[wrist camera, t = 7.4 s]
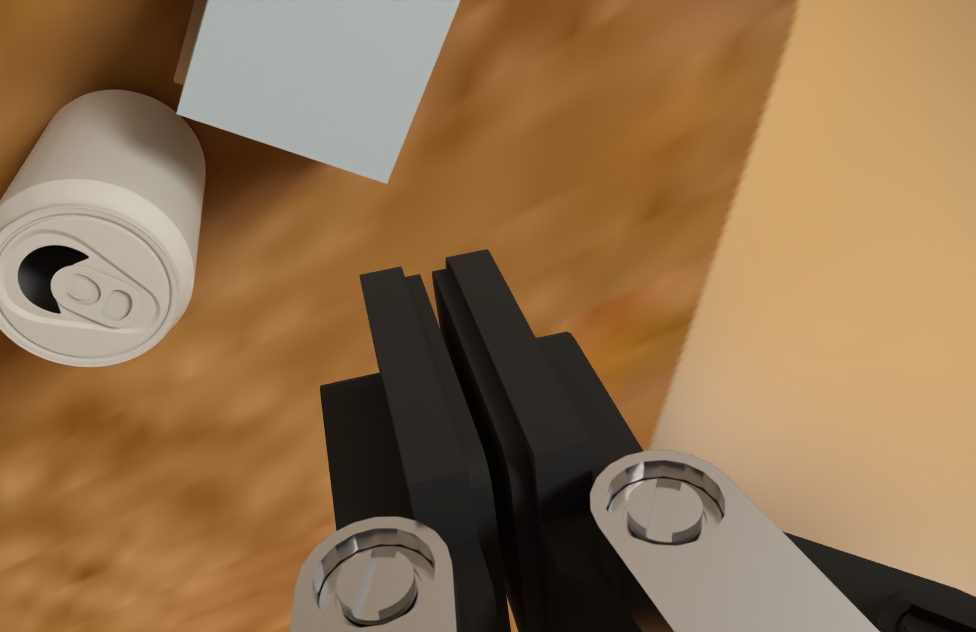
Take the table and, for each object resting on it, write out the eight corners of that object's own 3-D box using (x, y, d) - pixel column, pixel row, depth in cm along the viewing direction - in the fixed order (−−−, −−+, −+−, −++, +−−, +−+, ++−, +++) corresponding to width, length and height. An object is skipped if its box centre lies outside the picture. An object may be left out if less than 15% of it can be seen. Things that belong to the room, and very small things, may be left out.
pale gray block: (369, 137, 33) (387, 184, 29) (186, 72, 30) (176, 113, 26) (437, -41, 30) (467, -17, 26) (243, -129, 27) (241, -119, 23)
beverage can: (81, 53, 33) (9, 156, 23) (233, 132, 36) (227, 254, 26) (20, 186, 35) (-70, 333, 25) (169, 250, 38) (141, 405, 28)
